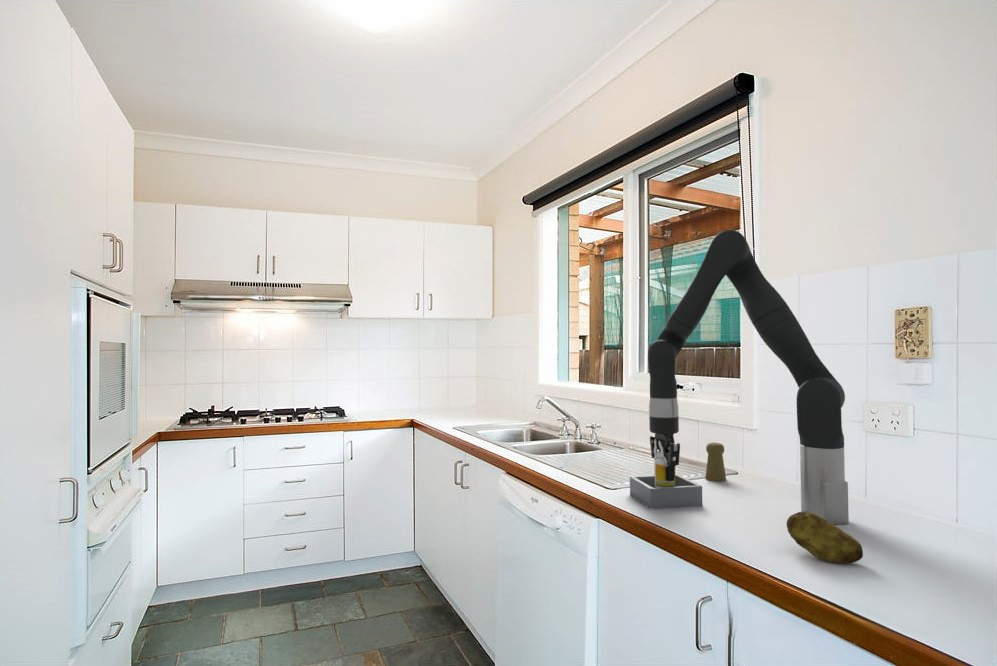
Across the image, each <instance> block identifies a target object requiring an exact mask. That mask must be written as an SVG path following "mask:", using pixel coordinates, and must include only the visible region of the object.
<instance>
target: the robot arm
mask: <svg viewBox="0 0 997 666" xmlns="http://www.w3.org/2000/svg"><path fill="white" fill-rule="evenodd" d="M725 276H726V278H727V279H728V281H730V283H731V284H732V285H733V287H734V288H735V289H736V292H737V294H738V295H739V297H740V300H741V303H742V305H743V307H744V310H745V312H746V314H747V316H748V318H749V320H750V322H751V323H752V325H753V327H754V329H755V330H756V332H757V334H758V335H759V337H760V338H761V339H762V341H763V342H764V344H765V345H766V346H767V347H768V348H769V349H770V350H771V352H773V354H774V355H775V356H776V357H777V358H778V359H779V360H780V361H781V362H782V363H783V364H784V365H785V367H786V368H787V369H788V370H789V372H790V374H791V376H792V377H793V379H794V381H795V383H796V385H797V387H798V390H797V394H796V423H797V424H796V425H797V433H798V437H799V464H800V465H799V468H800V469H799V471H800V473H799V475H800V478H799V479H800V508H801V511H800V512H806V511H807V512H810V513H814V514H817V515H819V516H821V517H822V518H824V519H825V520H827V521H828V522H830V523H832V524H834V525H841V524H842V525H843V524H849V523H850V521H849V518H850V517H849V515H850V514H849V512H850V511H849V483H848V481H846V473H845V472H846V471H845V470H846V469H845V466H846V465H845V435H844V433H843V427H842V424H843V421H842V408H843V406H844V404H845V400H846V395H845V394H846V393H845V391H844V388H843V386H842V385H841V384H840V383H839V381H838V380H837V379H836V378H835V376H833V374H832V373H831V372H830V371H829V369H828V368H827V367H826V365H825V364H824V363H823V362H822V360H821V359H820V357H819V356H818V355H817V353H816V351H815V350H814V348H813V346H812V344H811V342H810V340H809V338H808V336H807V335H806V333H805V331H804V330H803V328H802V326H801V324H800V322H799V320H798V319H797V317H796V316H795V314H794V313H793V311H792V309H791V308H790V306H789V305H788V303H787V302H786V301H785V299H784V298H783V296H782V295H781V294H780V293H779V292H778V291H777V290H776V289H775V287H774V286H773V285H772V284H771V283H770V282H769V281H768V280H767V279H766V277H765V276H764V274H763V273H762V271H761V270H760V267H759V266H758V264H757V262H756V259H755V257H754V255H753V253H752V251H751V248H750V245H749V242H748V241H747V239H746V237H745V236H744V235H743V234H742V233H741V232H739V231H737V230H733V229H726V230H723V231H720V232H719V233H718V234H716V235H715V236H714V237H713V239H712V240H711V243H710V245H709V247H708V250H707V251H706V253H705V256H704V258H703V260H702V262H701V265H700V267H699V269H698V270H697V273H696V275H695V277H694V279H693V280H692V282H691V283H690V285H689V286H688V288H687V290H686V291H685V293H684V294H683V296H682V297H681V299H680V301H679V303H678V304H677V305H676V307H675V309H674V310H673V312H672V313H671V315H670V316H669V318H668V319H667V322H666V324H665V326H664V329H663V330H662V331H661V333H660V335H659V336H658V337H657V339H656V340H654V342H653V343H651V344H650V346H649V347H648V350H647V351H648V353H647V361H648V362H647V363H648V373H649V405H648V411H649V412H648V414H649V416H648V417H649V418H648V421H649V432H650V433H653V434H654V435H651V436H649V445H650V456H651V458H652V459H653V460H654V462H655V460H656V459H657V458H658V457H657V451H661V455H662V458H664V461H665V466H666V467H665V479H666V480H667V481H674V479H675V477H674V466H675V467H677V466H679V464H680V454H681V452H680V451H681V444H680V443H679V442H675V438H674V435H676V434H678V432H679V431H680V428H679V427H680V425H679V424H680V423H679V403H678V385H677V384H678V383H677V379H676V359H677V357H678V355H679V354H680V352H681V350H682V349H683V347H684V345H685V343H686V341H687V340H688V339H689V338H690V336H691V335H692V333H694V331H695V329H696V328H697V326H698V325H699V324H700V321H701V320H702V318H703V317H704V315H705V313H706V311H707V310H708V308H709V305H710V303H711V300H712V298H713V296H714V294H715V292H716V290H717V288H718V287H719V285H720V283H721V282H722V281H723V279H724V277H725ZM665 453H669V454H665Z"/></svg>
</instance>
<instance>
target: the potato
mask: <svg viewBox="0 0 997 666" xmlns="http://www.w3.org/2000/svg"><path fill="white" fill-rule="evenodd" d="M786 529H787V532H788V534H789V535H790V537H791V538H792V539H793V540H794V542H795V543H796V544H797V545H798V546H800V547H801V548H803V549H804V550H806V551H807V552H808V553H809V554H811V555H812V556H813V557H815V558H817V559H819V560H822V561H825V562H829V563H837V564H854V563H856V562H859V561H861V560H862V558H863V557H864V550H863V547H862V545H861V543H860V541H858V540H857V539H856V538H855V537H853V536H851V535H850V534H849V533H847V532H845V531H844V530H842V529H840V528H839V527H838V526H836V524H832V523H830V522H828V521H827V520H825V519H824V518H822V517H821V516H819V515H817V514H814V513H810V512H807V511H806V512H801V511H798V512H796V513H793V514H791V515H790V516H789V517H788V518H787V520H786Z"/></svg>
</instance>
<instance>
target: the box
mask: <svg viewBox="0 0 997 666" xmlns="http://www.w3.org/2000/svg"><path fill="white" fill-rule="evenodd" d="M675 482H676V487H657V488H656V487H655V474H654V475H653V474H652V475H636V476H635V475H634V476H633V475H632V476H629V496H632V497H633V498H634V499H636V500H637V501H639V502H640V501H641V502H640V503H641V504H643V503H644V504H643V505H644V506H646V505H647V506H648V507H647V506H646V507H647V508H649V509H650V508H655V509H666V508H667V509H668V508H687V507H701V506H703V485H701V484H698V483H697V482H694V481H693V480H691V479H689V478H686V477H684V476H682V475H680V474H678V473H675Z"/></svg>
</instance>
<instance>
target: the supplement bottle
mask: <svg viewBox="0 0 997 666" xmlns="http://www.w3.org/2000/svg"><path fill="white" fill-rule="evenodd" d="M665 454H669V453H665ZM657 457H658V458H657V459H656V460H655V461H654V466H653V467H654V468H653V469H654V475H655V487H656V488H657V487H676V482H675V479H674V481H667V480H666V479H665V467H666V466H665V461H664V458H662V455H661V451H657ZM675 474H676V466H674V477H675Z"/></svg>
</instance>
